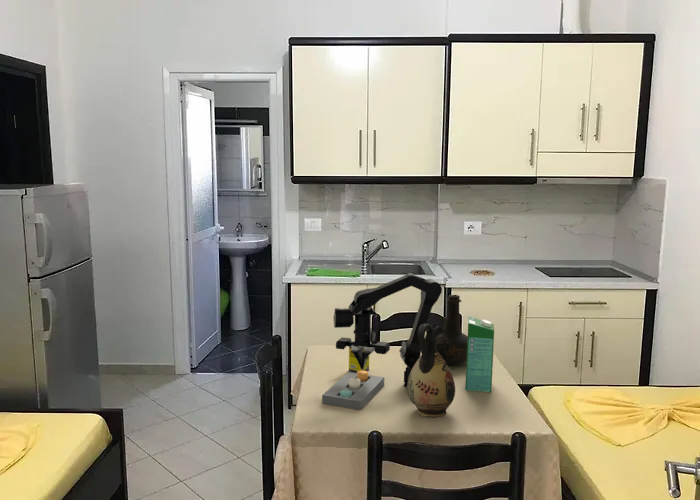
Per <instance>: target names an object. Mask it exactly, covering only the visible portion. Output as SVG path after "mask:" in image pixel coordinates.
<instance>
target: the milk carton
mask: <svg viewBox="0 0 700 500" xmlns="http://www.w3.org/2000/svg"><path fill="white" fill-rule="evenodd" d="M467 336H468V340H467V362H466V366H465V369H466V370H465V391H474V392H485V393H492V385H493V383H492V382H493V366H494V365H493V363H494V346H495V345H494V343H495V341H494V340H495V327H494V323H493V322H492V321H490V320H487V319H484V318H483V319H478V318H475V317H472V316H468V319H467Z"/></svg>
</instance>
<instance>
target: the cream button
mask: <svg viewBox="0 0 700 500" xmlns="http://www.w3.org/2000/svg"><path fill="white" fill-rule="evenodd" d="M349 388H354V389H360V379H359V378H350V379H349Z"/></svg>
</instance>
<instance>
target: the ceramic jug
mask: <svg viewBox="0 0 700 500" xmlns="http://www.w3.org/2000/svg"><path fill="white" fill-rule="evenodd" d="M443 332H444V327H443V326H440V325H436V326H435V327H433V326H432V324H429V323H427V324H422V325H420V326H419V329H418V341H419V345H420V349H421V355H420V357H419V359H418V360H417V362H416V363H415V365H414V366H413V368H412V370H411V373H410V375H409V379H408V385H407V386H406V387H407V388H406V389H407V390H406V391H407V396H408V398H409V400H410V401H411V403H412V404H413V406H414V407H416V410H417V412H418V413H419V415H421V416H422V417H430V418H433V417H434V418H435V417H437V418H438V417H442V416H445V415H447V410H448V408H449V407H450V406H451V404H452V403H453V401H454V398H455V397H456V385H455V380H454V376H453V373H452V371H451V370H450V366H448V365H447V364H446V362H445V361H444V359H443V358H442V357H441V355H440V354H439V353H438V351H437V349H436V346H435V343H436V339H437V337H438V336H439V335H441V334H442V333H443Z"/></svg>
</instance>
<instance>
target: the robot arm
mask: <svg viewBox="0 0 700 500" xmlns="http://www.w3.org/2000/svg"><path fill="white" fill-rule="evenodd" d="M410 287H412V288H415V289H418V290H420V303H419V306H418V309H417V312H416V316H415V319H414V322H413V325H412V329H411V332H410V335H409V338H408V339H407V341H402V342H401V347H400V349H399V351H398V352H399V353H400V354H399V355H400V359H401V360H402V361H403V363H404V364H405V366H406V367H405V370H404V372H403V386H404V387H407V385H408V379H409V375H410V373H411V370H412V368H413V366H414V365H415V363H416V362H417V360H418V359H419V357H420V356H421V355H422V353H421V349H420V345H419V341H418V329H419V326H420V325H422V324H428V321H429V319H430V316H431V313H432V309H433V307H434V305H435V304H436V303H437V302H438V301H439V298H440V296H441V294H442V292H443V288H442V286H441V284H440V283H439V282H438V281H436V280H435V279H433V278H426V279H425V278H423V277H420V276H419V275H415V274H413V273H410V272H409V273H406V274H404V275H402V276H400V277H397V278H396V279H393V280H390V281H389V282H386V283H383V284H382V285H380V286H377V287H372V288H371V287H370V288H365V289H362V290H361V289H360V290H358V291H356V292H355V294H354V296H353V300H352V301H351V303H350V304H349V306H348V308H339V307H335V308H334V313H333V318H332V319H333V327H334V328H335V329H339V328H340V329H341V328H351V327H353V325H354V330H353V335H354V340H353V341H352V338H350V337H343V336H342V337H340V338H339V339H338V340H337V341H336V342H335V350H345V349H346V348H347V347H348V348H349V347H352V350H351V353H353V354H354V355H355V357H356V359H357V361H358V363H359V365H360V367H361V369H364V367H365V364H366V361H367V358H368V356H369V357H370V355H371V354H372V353H374V352H375V353H376V354H378V355H386V354H387V353H388V352H389V351H390V349H391V348H390V347H391V345H390V342H387V341H379V340H378V342H377V343H373V342H375V341H376V333H377V332H376V331H373V329H372V325H371V324H372V319H371V318H372V316H376V315H377V312H376V310H374V308H373V306H375V305H376V304H377V303H378V302H379V301H380V300H382V299H385V298H387V297H388V296H391V295H393V294H396V293H399V292H401V291H402V290H405V289H407V288H410ZM363 348H364V351H363Z"/></svg>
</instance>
